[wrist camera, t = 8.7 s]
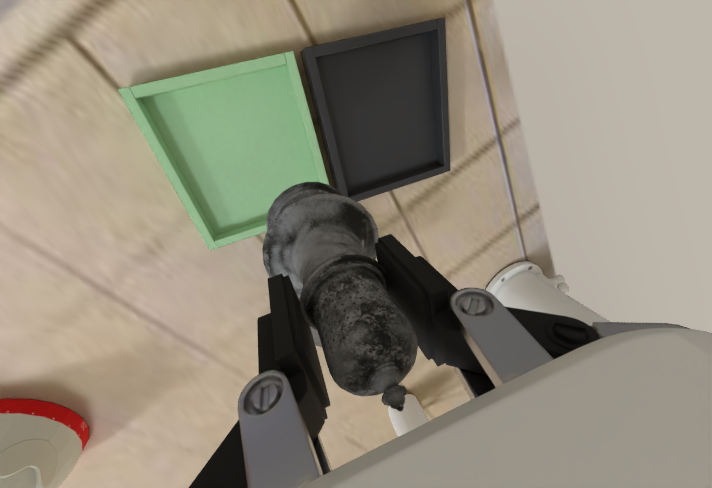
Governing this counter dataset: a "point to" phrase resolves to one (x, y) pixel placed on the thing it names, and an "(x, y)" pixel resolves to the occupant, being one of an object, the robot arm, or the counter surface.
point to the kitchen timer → (38, 443)
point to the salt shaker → (341, 288)
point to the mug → (407, 416)
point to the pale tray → (230, 141)
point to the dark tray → (382, 107)
